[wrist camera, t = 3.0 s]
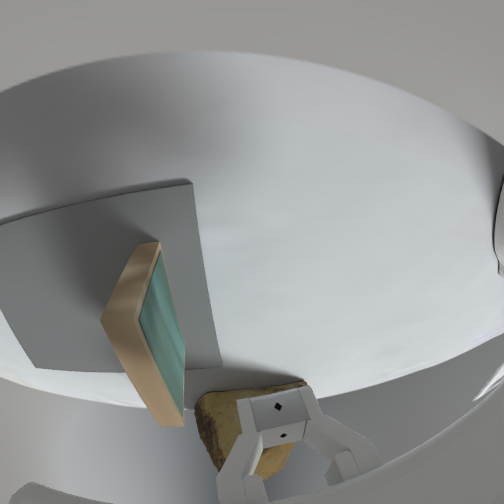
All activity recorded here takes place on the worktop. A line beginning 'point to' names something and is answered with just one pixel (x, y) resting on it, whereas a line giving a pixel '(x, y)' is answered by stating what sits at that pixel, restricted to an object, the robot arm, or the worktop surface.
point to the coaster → (148, 334)
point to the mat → (100, 276)
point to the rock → (236, 427)
